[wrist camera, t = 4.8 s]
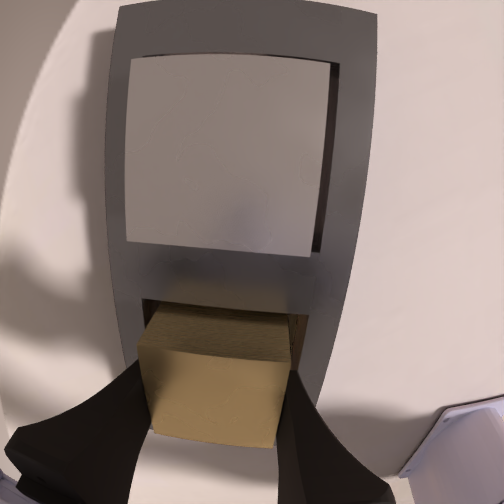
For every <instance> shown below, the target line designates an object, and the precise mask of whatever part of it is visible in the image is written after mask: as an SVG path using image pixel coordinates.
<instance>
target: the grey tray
mask: <svg viewBox="0 0 504 504" xmlns="http://www.w3.org/2000/svg"><path fill="white" fill-rule="evenodd" d="M194 54H234V55H257V56H272V57H283V58H293V59H302V60H310V61H317V62H324V63H330V76H329V91H328V105H327V117H326V128H325V139H324V149H323V159H322V168H321V178H320V186H319V195H318V203H317V211H316V218H315V226H314V233H313V240H312V247H311V254H310V257H302V256H290V255H279V254H267V253H256V252H245V251H233V250H222V249H210V248H199V247H187V246H176V245H165V244H153V243H142V242H130V241H127V236H126V215H125V136H126V115H127V100H128V87H129V76H130V67H131V59H136V58H146V57H157V56H171V55H194ZM376 67H377V14H374V13H370V12H366V11H362V10H357V9H353V8H348V7H343V6H337V5H332V4H326V3H319V2H313V1H305V0H157V1H150V2H143V3H137V4H131V5H125V6H120V7H119V12H118V18H117V24H116V30H115V36H114V42H113V50H112V57H111V66H110V75H109V85H108V97H107V112H106V133H105V197H106V219H107V235H108V247H109V258H110V268H111V277H112V285H113V293H114V300H115V307H116V313H117V320H118V326H119V332H120V337H121V343H122V348H123V353H124V358H125V363H126V367H127V368H128V367H129V366H131V365H132V364H133V363H134V362H135V361H136V360H137V359H138V352H137V346H136V344H137V343H138V341H139V339H140V337H141V336H142V334H143V332H144V331H145V329H146V327H147V325H148V324H149V322H150V320H151V319H152V317H153V315H154V314H155V312H156V310H157V309H158V307H159V305H160V304H161V301H168V302H176V303H184V304H193V305H202V306H211V307H220V308H230V309H241V310H252V311H263V312H275V313H289V314H299V316H298V321H297V327H296V333H295V338H294V344H293V349H292V355H291V366H290V370H297V371H298V372H299V375H300V377H301V380H302V382H303V385H304V387H305V389H306V391H307V393H308V395H309V397H310V399H311V401H312V402H313V404H314V406H315V407H316V404H317V401H318V398H319V394H320V391H321V388H322V385H323V381H324V378H325V374H326V371H327V367H328V364H329V360H330V357H331V353H332V349H333V346H334V342H335V338H336V334H337V330H338V326H339V322H340V318H341V314H342V310H343V306H344V301H345V297H346V292H347V288H348V283H349V279H350V274H351V269H352V264H353V259H354V254H355V249H356V243H357V238H358V232H359V226H360V220H361V214H362V208H363V202H364V195H365V188H366V181H367V173H368V165H369V157H370V148H371V138H372V128H373V117H374V104H375V88H376ZM149 429H152V430H154V429H153V425H152V423H151V425H150V428H149ZM273 445H277V442H276V436H275V440H274V444H273Z"/></svg>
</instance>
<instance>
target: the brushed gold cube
mask: <svg viewBox="0 0 504 504" xmlns="http://www.w3.org/2000/svg"><path fill="white" fill-rule="evenodd" d="M136 346H137V352H138V358H139V364H140V369H141V375H142V380H143V385H144V390H145V395H146V399H147V404H148V408H149V413H150V417H151V421H152V425H153V429H154V433H156V434H161V435H166V436H171V437H176V438H182V439H188V440H194V441H201V442H208V443H216V444H224V445H233V446H244V447H256V448H273V444H274V440H275V436H276V432H277V427H278V423H279V418H280V414H281V409H282V405H283V400H284V396H285V391H286V386H287V381H288V376H289V371H290V366H291V355H290V342H289V330H288V318H287V313H275V312H263V311H252V310H241V309H230V308H220V307H211V306H202V305H193V304H184V303H176V302H168V301H162V302H161V304H160V305H159V307H158V309H157V310H156V312H155V314H154V315H153V317H152V319H151V320H150V322H149V324H148V325H147V327H146V329H145V331H144V332H143V334H142V336H141V337H140V339H139V341H138V343H137V344H136Z"/></svg>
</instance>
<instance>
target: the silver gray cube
mask: <svg viewBox="0 0 504 504" xmlns="http://www.w3.org/2000/svg"><path fill="white" fill-rule="evenodd" d="M329 76H330V63H324V62H317V61H310V60H302V59H293V58H283V57H272V56H257V55H234V54H194V55H171V56H157V57H146V58H136V59H131V67H130V76H129V87H128V100H127V115H126V136H125V215H126V236H127V241H130V242H142V243H153V244H165V245H176V246H187V247H199V248H210V249H222V250H233V251H245V252H256V253H267V254H279V255H290V256H302V257H310V254H311V247H312V240H313V233H314V226H315V218H316V211H317V203H318V195H319V186H320V178H321V168H322V159H323V149H324V139H325V128H326V117H327V105H328V91H329Z"/></svg>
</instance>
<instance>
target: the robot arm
mask: <svg viewBox="0 0 504 504" xmlns="http://www.w3.org/2000/svg"><path fill="white" fill-rule="evenodd" d="M503 415H504V397H500V398H496V399H491V400H487V401H483V402H478V403H473V404H468V405H463V406H458V407H452V408H448V409H446V410H445V411H444V412H443V413H442V415H441V416H440V418H439V420H438V421H437V423H436V424H435V426H434V427H433V428H432V430H431V431H430V433H429V434H428V436H427V437H426V439H425V440H424V441H423V443H422V444H421V445H420V447H419V448H418V450H417V451H416V452H415V453H414V455H413V456H412V457H411V459H410V460H409V461H408V463H407V464H406V465H405V466H404V468H403V469H402V470H401V471H400V472H399V474H398V477H399V478H406V477H408V480H409V484H410V487H411V491H412V495H413V498H414V502H415V504H504V422H503V420H502V416H503ZM151 423H152V421H151V417H150V413H149V408H148V404H147V399H146V395H145V390H144V385H143V380H142V375H141V369H140V364H139V358H138V359H137V360H136V361H135V362H134V363H133V364H132V365H131V366H129V367H128V368H127V369H126V370H125V371H124V372H123V373H122V374H120V375H119V376H118V377H117V378H116V379H115V380H113V381H112V382H111V383H110V384H108V385H107V386H106V387H104V388H103V389H102V390H101V391H99V392H98V393H97V394H95V395H94V396H92V397H91V398H89V399H88V400H86V401H84V402H83V403H81V404H79V405H78V406H76V407H74V408H72V409H70V410H68V411H66V412H64V413H62V414H59V415H57V416H55V417H52V418H50V419H47V420H44V421H41V422H38V423H34V424H30V425H26V426H23V427H18V428H17V430H16V431H15V432H14V434H13V435H12V437H11V439H10V440H9V442H8V443H7V445H6V446H5V449H4V450H5V453H6V456H7V457H8V458H9V460H10V461H11V462H12V463H13V464H14V466H15V467H16V468H17V469H18V470H19V471H20V472H21V474H22V475H21V477H20V479H19V481H18V482H17V481H15V480H14V479H12V478H10V477H9V476H7V475H5V474H4V473H3V472H2V470H1V469H0V504H128V499H129V493H130V488H131V484H132V479H133V475H134V471H135V467H136V463H137V459H138V456H139V453H140V450H141V447H142V444H143V442H144V440H145V437H146V435H147V432H148V430H149V428H150V425H151ZM276 442H277V454H278V466H279V483H278V504H396V501H395V497H394V495H393V492H392V490H391V487H390V485H389V484H388V483H386V482H385V481H383V480H382V479H380V478H379V477H377V476H376V475H375V474H373V473H372V472H371V471H369V470H368V469H367V468H366V467H365V466H363V465H362V464H361V463H360V462H359V461H358V460H357V459H356V458H355V457H354V456H353V455H352V454H351V453H349V452H348V451H347V450H346V448H345V447H344V446H343V445H342V444H341V443H340V442H339V441H338V439H337V438H336V437H335V436H334V434H333V433H332V432H331V431H330V429H329V428H328V426H327V425H326V424H325V422H324V421H323V419H322V418H321V416H320V414H319V413H318V411H317V409H316V408H315V406H314V404H313V402H312V401H311V399H310V397H309V395H308V393H307V391H306V389H305V387H304V385H303V382H302V380H301V377H300V375H299V372H298V371H297V370H290V371H289V376H288V381H287V386H286V391H285V396H284V400H283V405H282V409H281V414H280V418H279V423H278V427H277V432H276Z"/></svg>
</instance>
